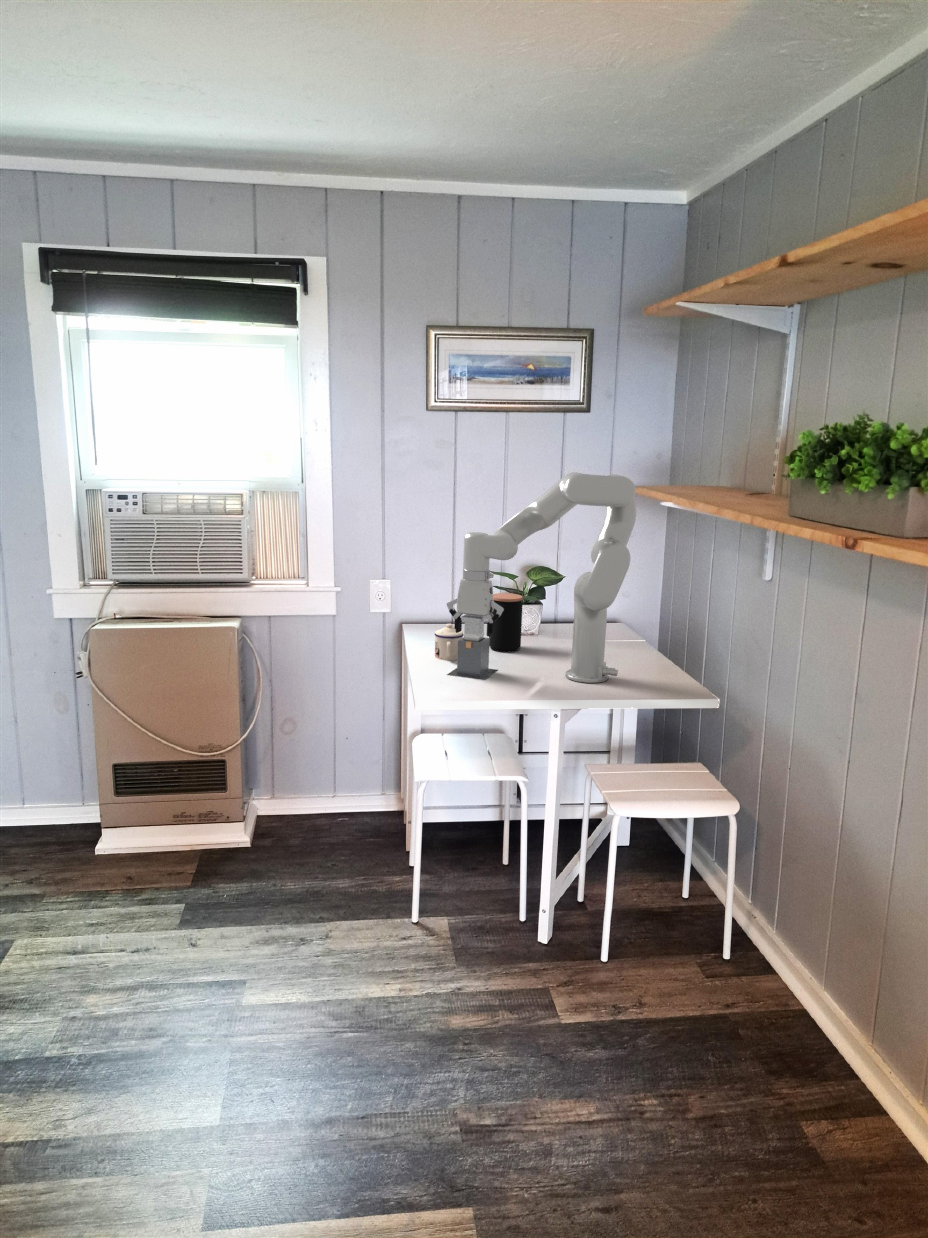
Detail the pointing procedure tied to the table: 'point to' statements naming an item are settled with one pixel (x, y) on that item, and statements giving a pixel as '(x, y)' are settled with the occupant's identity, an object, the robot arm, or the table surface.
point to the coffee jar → (507, 623)
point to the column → (473, 627)
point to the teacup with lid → (447, 643)
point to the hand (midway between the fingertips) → (473, 633)
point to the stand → (473, 660)
